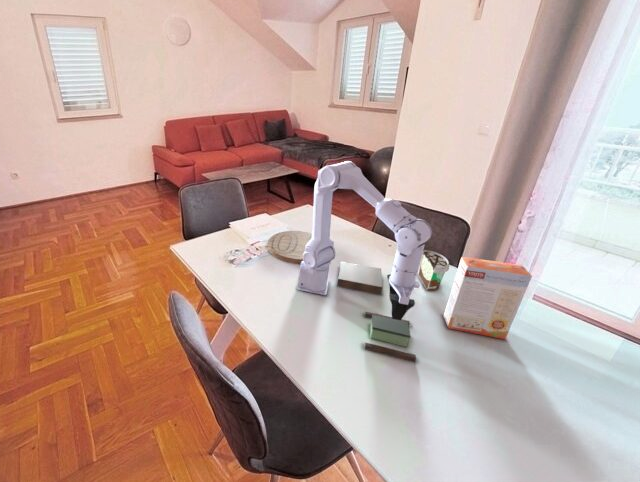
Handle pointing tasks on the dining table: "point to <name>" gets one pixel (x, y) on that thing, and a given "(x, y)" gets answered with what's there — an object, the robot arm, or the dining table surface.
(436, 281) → the food container
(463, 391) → the dining table surface
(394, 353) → the bay rails
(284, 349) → the dining table surface
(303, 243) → the trivet
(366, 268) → the white-topped slab
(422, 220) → the robot arm
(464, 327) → the cracker box
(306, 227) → the dining table surface
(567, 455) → the dining table surface
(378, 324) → the box
